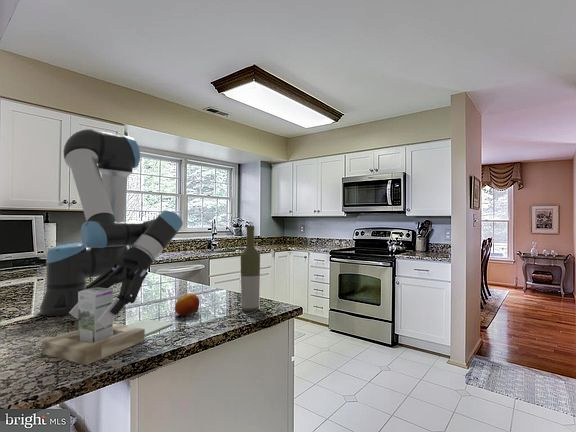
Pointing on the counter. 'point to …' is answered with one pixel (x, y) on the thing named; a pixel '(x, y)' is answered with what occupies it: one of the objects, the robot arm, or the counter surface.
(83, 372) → the counter surface
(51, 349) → the slotted stand
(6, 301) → the counter surface
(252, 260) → the bottle
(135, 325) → the mat
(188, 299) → the fruit
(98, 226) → the robot arm
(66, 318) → the counter surface
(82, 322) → the syrup box
